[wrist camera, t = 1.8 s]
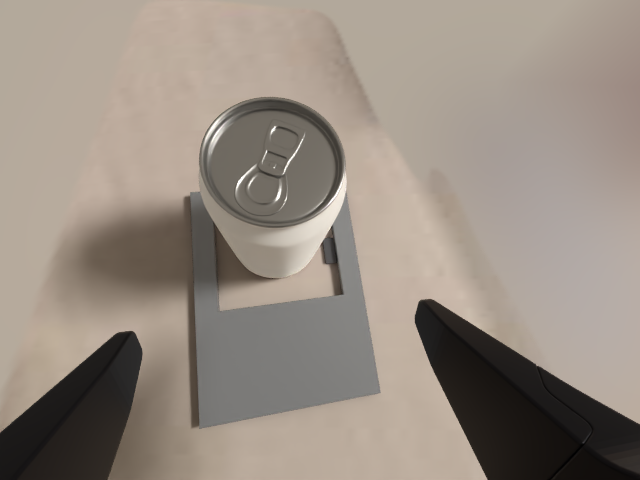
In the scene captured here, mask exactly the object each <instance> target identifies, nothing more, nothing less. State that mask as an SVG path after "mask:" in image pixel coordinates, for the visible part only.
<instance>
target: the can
mask: <svg viewBox="0 0 640 480" xmlns="http://www.w3.org/2000/svg"><path fill="white" fill-rule="evenodd" d="M199 165H200V169H199V188H200V193H201V196H202V200H203V202H204V205H205V207H206V209H207V211H208V213H209V215H210V217H211V218H212V220H213V221H214V223H215V225H216V226H217V228H218V229H219V231H220V232H221V234H222V235H223V237H224V238H225V240H226V241H227V243H228V244H229V246H230V247H231V249H232V250H233V252H234V253H235V255H236V256H237V258H238V259H239V260H240V262H241V263H242V264H243V265H244V266H245V267H246V268H247V269H248V270H249V271H251V272H253V273H254V274H257V275H259V276H263V277H268V278H284V277H288V276H291V275H293V274H295V273H297V272H299V271H300V270H302V269H303V268H304V267H305V266H306V265H307V264H308V263H309V262H310V260H311V259H312V258H313V256H314V255H315V253H316V251H317V250H318V248H319V246H320V245H321V243H322V241H323V240H324V238H325V236H326V235H327V233H328V231H329V230H330V228H331V226H332V224H333V223H334V221H335V219H336V217H337V215H338V213H339V211H340V209H341V207H342V204H343V201H344V197H345V193H346V172H345V167H346V163H345V154H344V150H343V146H342V143H341V141H340V139H339V137H338V135H337V133H336V132H335V130H334V129H333V127H332V126H331V125H330V124H329V122H328V121H327V120H326V119H325V118H324V117H322V116H321V115H320V114H319V113H317V112H316V111H315V110H313V109H311V108H310V107H308V106H306V105H304V104H302V103H299V102H296V101H293V100H290V99H285V98H278V97H261V98H254V99H250V100H246V101H243V102H240V103H238V104H236V105H234V106H232V107H230V108H229V109H227V110H226V111H224V112H223V113H222V114H220V115H219V116H218V117H217V118H216V119H215V120H214V122H213V123H212V124H211V125H210V127H209V128H208V130H207V132H206V134H205V136H204V138H203V141H202V144H201V148H200V154H199Z"/></svg>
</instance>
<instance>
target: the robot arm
mask: <svg viewBox="0 0 640 480" xmlns="http://www.w3.org/2000/svg"><path fill="white" fill-rule="evenodd" d="M415 324H416V327H417V330H418V332H419V335H420V338H421V340H422V343H423V346H424V348H425V351H426V354H427V356H428V359H429V361H430V364H431V366H432V368H433V371H434V373H435V375H436V377H437V379H438V381H439V383H440V385H441V387H442V389H443V391H444V393H445V395H446V397H447V399H448V401H449V403H450V405H451V407H452V409H453V411H454V413H455V415H456V417H457V419H458V421H459V423H460V425H461V427H462V429H463V431H464V433H465V435H466V437H467V439H468V441H469V443H470V445H471V447H472V449H473V451H474V453H475V455H476V457H477V459H478V461H479V463H480V465H481V467H482V469H483V471H484V473H485V475H486V477H487V479H488V480H640V424H638V423H636V422H634V421H633V420H631V419H629V418H627V417H625V416H623V415H622V414H620V413H618V412H616V411H615V410H613V409H611V408H609V407H607V406H605V405H603V404H602V403H600V402H598V401H596V400H595V399H593V398H591V397H589V396H588V395H586V394H584V393H582V392H581V391H579V390H577V389H575V388H574V387H572V386H570V385H569V384H567V383H565V382H563V381H562V380H560V379H559V378H557V377H555V376H554V375H552V374H551V373H549V372H547V371H546V370H544V369H543V368H541V367H539V366H536V364H535V363H533V362H531V361H530V360H528V359H527V358H525V357H523V356H522V355H520V354H519V353H517V352H515V351H514V350H512V349H511V348H509V347H507V346H506V345H504V344H503V343H501V342H500V341H498V340H496V339H495V338H493V337H492V336H490V335H488V334H487V333H485V332H484V331H482V330H480V329H479V328H477V327H476V326H474V325H473V324H471V323H469V322H468V321H466V320H465V319H463V318H461V317H460V316H458V315H457V314H455V313H453V312H452V311H450V310H449V309H447V308H445V307H444V306H442V305H441V304H439V303H438V302H436V301H434V300H432V299H425V300H420V301H419V303H418V307H417V311H416V314H415ZM141 361H142V348H141V346H140V343H139V341H138V338H137V336H136V334H135V333H134V332H133V331H126V332H119V333H117V334H115V335H114V336H113V337H111V338H110V339H109V340H108V341H107V342H106V343H104V344H103V345H102V346H101V347H100V348H99V349H97V350H96V351H95V352H94V353H93V354H92V355H90V356H89V357H88V358H87V359H86V360H85V361H83V362H82V363H81V364H80V365H79V366H78V367H76V368H75V369H74V370H73V371H72V372H71V373H69V374H68V375H67V376H66V377H65V378H64V379H62V380H61V381H60V382H59V383H58V384H57V385H55V386H54V387H53V388H52V389H51V390H50V391H48V392H47V393H46V394H45V395H44V396H43V397H41V398H40V399H39V400H38V401H37V402H36V403H34V404H33V405H32V406H31V407H30V408H29V409H27V410H26V411H25V412H24V413H23V414H22V415H20V416H19V417H18V418H17V419H16V420H14V421H13V422H12V423H11V424H10V425H9V426H7V427H6V428H5V429H4V430H3V431H2V432H0V480H108V477H109V474H110V471H111V468H112V465H113V462H114V459H115V456H116V453H117V450H118V447H119V444H120V441H121V438H122V435H123V432H124V429H125V426H126V423H127V420H128V417H129V413H130V410H131V406H132V402H133V398H134V393H135V388H136V384H137V379H138V375H139V370H140V365H141Z"/></svg>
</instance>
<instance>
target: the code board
mask: <svg viewBox="0 0 640 480" xmlns="http://www.w3.org/2000/svg"><path fill="white" fill-rule="evenodd" d="M190 200H191V225H192V250H193V276H194V301H195V326H196V352H197V377H198V403H199V428H200V429H201V428H206V427H211V426H216V425H221V424H226V423H231V422H236V421H241V420H246V419H251V418H256V417H261V416H266V415H271V414H277V413H282V412H287V411H292V410H297V409H302V408H307V407H312V406H317V405H322V404H327V403H332V402H337V401H342V400H347V399H352V398H357V397H362V396H368V395H373V394H378V393H381V392H380V386H379V381H378V375H377V369H376V363H375V357H374V351H373V346H372V340H371V334H370V328H369V322H368V316H367V310H366V305H365V299H364V293H363V287H362V281H361V275H360V270H359V264H358V258H357V252H356V246H355V240H354V234H353V229H352V223H351V217H350V211H349V205H348V199H347V194H346V193H345V197H344V201H343V204H342V207H341V209H340V211H339V213H338V215H337V217H336V219H335V221H334V223H333V224H332V232H333V238H334V243H333V238H325V239H324V240H323V247H324V254H325V261H326V264H332V263H337V264H338V271H339V277H340V284H341V290H342V295H337V296H329V297H322V298H314V299H307V300H300V301H292V302H285V303H278V304H270V305H263V306H255V307H248V308H241V309H233V310H226V311H219V294H218V277H217V260H216V243H215V226H214V221H213V220H212V218H211V217H210V215H209V213H208V211H207V209H206V207H205V205H204V202H203V200H202V196H201V193H200V192H190ZM334 245H335V249H334ZM335 251H336V256H335ZM336 258H337V262H336Z"/></svg>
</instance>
